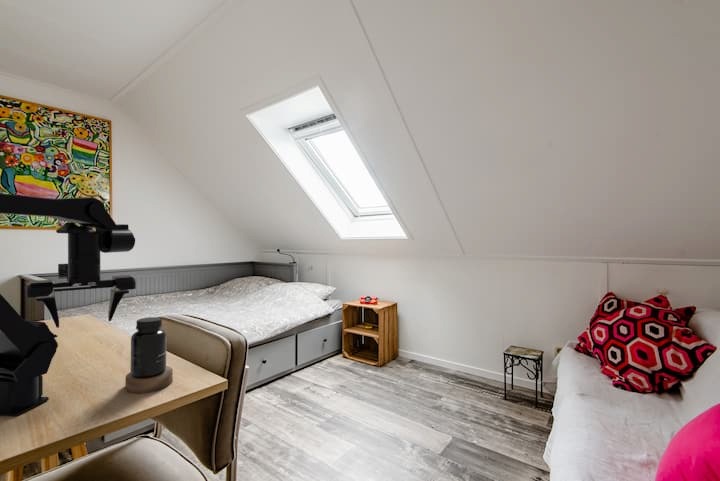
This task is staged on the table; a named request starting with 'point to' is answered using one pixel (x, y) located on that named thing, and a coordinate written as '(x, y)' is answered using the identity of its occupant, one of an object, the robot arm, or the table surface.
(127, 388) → the walnut stand
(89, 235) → the robot arm
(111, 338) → the table surface
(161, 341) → the supplement bottle
